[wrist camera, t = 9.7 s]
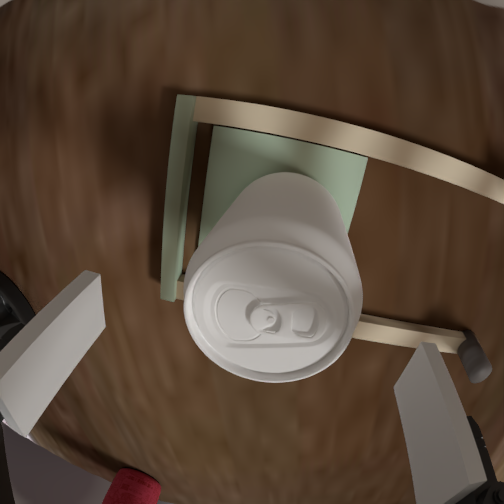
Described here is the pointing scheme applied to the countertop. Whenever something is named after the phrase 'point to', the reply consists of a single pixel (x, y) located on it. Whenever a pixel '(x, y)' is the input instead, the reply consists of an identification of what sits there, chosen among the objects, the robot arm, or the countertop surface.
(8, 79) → the countertop surface
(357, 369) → the countertop surface
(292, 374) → the beverage can
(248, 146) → the bay
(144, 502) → the wine bottle
